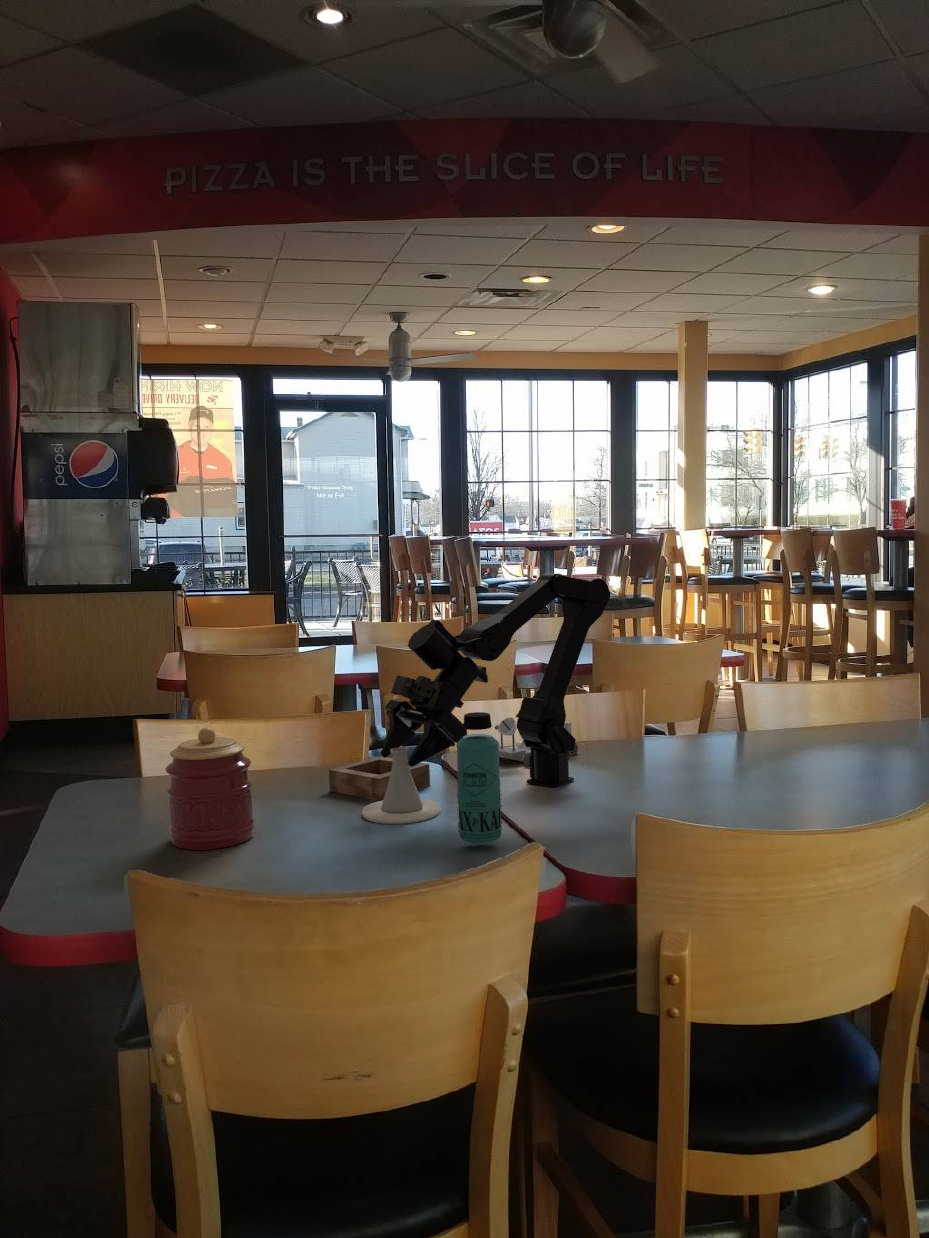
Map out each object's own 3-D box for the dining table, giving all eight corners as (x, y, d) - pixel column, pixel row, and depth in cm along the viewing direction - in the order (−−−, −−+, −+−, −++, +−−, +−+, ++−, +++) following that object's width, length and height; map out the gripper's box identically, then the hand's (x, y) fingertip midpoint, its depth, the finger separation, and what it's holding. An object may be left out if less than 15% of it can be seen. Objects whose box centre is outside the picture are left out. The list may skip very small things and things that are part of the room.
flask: (429, 810, 171) (426, 751, 170) (386, 816, 169) (384, 755, 168) (416, 800, 178) (414, 743, 177) (375, 805, 175) (372, 747, 175)
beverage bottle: (457, 841, 156) (451, 710, 154) (500, 838, 157) (496, 708, 155) (460, 855, 150) (455, 718, 148) (506, 852, 150) (501, 715, 148)
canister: (176, 856, 154) (169, 739, 153) (164, 834, 166) (157, 725, 164) (263, 843, 159) (257, 729, 158) (245, 822, 171) (239, 717, 170)
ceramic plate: (456, 809, 174) (456, 804, 174) (402, 828, 164) (402, 823, 164) (400, 798, 182) (400, 794, 182) (346, 816, 173) (345, 811, 173)
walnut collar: (430, 785, 191) (429, 764, 191) (380, 801, 181) (379, 778, 181) (380, 776, 200) (379, 756, 199) (329, 791, 190) (328, 769, 190)
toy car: (515, 721, 201) (474, 715, 209) (517, 771, 201) (476, 763, 210) (577, 708, 213) (535, 703, 221) (578, 755, 214) (537, 748, 222)
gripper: (392, 652, 181) (338, 723, 176) (448, 662, 166) (391, 740, 161) (432, 692, 186) (381, 762, 181) (491, 704, 171) (436, 781, 166)
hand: (395, 760), depth 172 cm, fingers open, 9 cm apart
